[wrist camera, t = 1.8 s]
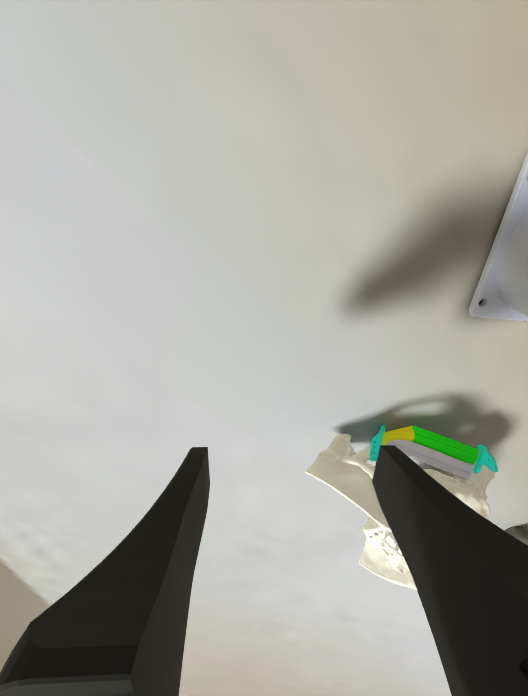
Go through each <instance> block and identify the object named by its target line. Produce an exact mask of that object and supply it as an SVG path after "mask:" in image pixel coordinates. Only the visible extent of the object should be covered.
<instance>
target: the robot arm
mask: <svg viewBox="0 0 528 696" xmlns="http://www.w3.org/2000/svg"><path fill="white" fill-rule="evenodd" d="M527 177H528V153H527V155H526V158H525V160H524V163H523V166H522V168H521V171H520V174H519V176H518V179H517V182H516V184H515V187H514V190H513V192H512V195H511V198H510V200H509V203H508V206H507V208H506V211H505V214H504V216H503V219H502V222H501V224H500V227H499V230H498V232H497V235H496V238H495V240H494V243H493V246H492V248H491V251H490V254H489V256H488V259H487V262H486V264H485V267H484V270H483V272H482V275H481V278H480V280H479V283H478V286H477V288H476V291H475V294H474V296H473V299H472V302H471V304H470V307H469V314H470V315H472V316H474V317H477V318H490V319H503V320H517V321H528V180H527ZM482 299H483V302H482V303H481V304H480V305H479V302H480V300H482ZM372 483H373V486H374V490H375V493H376V496H377V499H378V502H379V505H380V507H381V509H382V512H383V514H384V516H385V518H386V520H387V523H388V525H389V527H390V529H391V531H392V533H393V536H394V538H395V540H396V542H397V544H398V546H399V548H400V551H401V553H402V555H403V557H404V559H405V561H406V563H407V566H408V568H409V570H410V573H411V575H412V578H413V580H414V583H415V586H416V588H417V591H418V594H419V597H420V599H421V602H422V605H423V608H424V611H425V613H426V616H427V619H428V622H429V625H430V628H431V631H432V634H433V637H434V640H435V643H436V646H437V649H438V652H439V655H440V659H441V662H442V665H443V668H444V671H445V674H446V677H447V681H448V684H449V688H450V691H451V694H452V696H528V545H526V544H525V543H523V542H521V541H520V540H518V539H516V538H515V537H513V536H512V535H510V534H508V533H507V532H505V531H504V530H502V529H501V528H499V527H498V526H496V525H495V524H493V523H492V522H490V521H489V520H487V519H486V518H484V517H483V516H481V515H480V514H479V513H477V512H476V511H474V510H473V509H472V508H470V507H469V506H468V505H466V504H465V503H464V502H462V501H461V500H460V499H458V498H457V497H456V496H454V495H453V494H452V493H451V492H449V491H448V490H447V489H446V488H444V487H443V486H442V485H441V484H439V483H438V482H437V481H436V480H435V479H433V478H432V477H431V476H430V475H429V474H428V473H426V472H425V471H424V470H423V469H422V468H421V467H419V466H418V465H417V464H416V463H415V462H414V461H413V460H411V459H410V458H409V457H408V456H407V455H406V454H404V453H403V452H402V451H401V450H400V449H399V448H397V447H396V446H395V445H380V449H379V453H378V457H377V462H376V466H375V471H374V475H373V479H372ZM209 488H210V478H209V462H208V447H192V448H191V449H190V450H189V452H188V454H187V456H186V458H185V459H184V461H183V463H182V464H181V466H180V468H179V469H178V471H177V472H176V474H175V476H174V477H173V478H172V480H171V481H170V483H169V484H168V486H167V487H166V489H165V490H164V491H163V493H162V494H161V495H160V497H159V498H158V499H157V501H156V502H155V503H154V505H153V506H152V507H151V509H150V510H149V511H148V512H147V514H146V515H145V516H144V517H143V518H142V520H141V521H140V522H139V523H138V524H137V525H136V526H135V528H134V529H133V530H132V531H131V532H130V533H129V534H128V535H127V536H126V537H125V539H124V540H123V541H122V542H121V543H120V544H119V545H118V546H117V547H116V548H115V549H114V550H113V551H112V552H111V553H110V554H109V555H108V556H107V557H106V558H105V559H104V560H103V561H102V562H101V563H100V564H99V565H97V566H96V567H95V568H94V569H93V570H92V571H91V572H90V573H89V574H88V575H87V576H85V577H84V578H83V579H82V580H81V581H80V582H79V583H78V584H77V585H76V586H74V587H73V588H72V589H71V590H70V591H69V592H67V593H66V594H65V595H64V596H63V597H61V598H60V599H59V600H58V601H56V602H55V603H54V604H53V605H52V606H50V607H49V608H48V609H47V610H45V611H44V612H43V613H42V614H41V615H39V616H38V617H37V618H36V619H34V620H33V621H32V622H30V624H29V625H28V627H27V629H26V630H25V632H24V633H23V635H22V636H21V638H20V639H19V641H18V642H17V644H16V645H15V647H14V649H13V650H12V652H11V654H10V655H9V657H8V659H7V661H6V663H5V665H4V666H3V669H2V670H1V672H0V696H179V687H180V678H181V669H182V660H183V651H184V643H185V635H186V627H187V619H188V611H189V603H190V595H191V588H192V581H193V575H194V570H195V565H196V560H197V556H198V551H199V546H200V542H201V537H202V532H203V528H204V523H205V518H206V513H207V507H208V498H209Z"/></svg>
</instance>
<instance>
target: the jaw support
mask: <svg viewBox="0 0 528 696" xmlns="http://www.w3.org/2000/svg"><path fill="white" fill-rule="evenodd" d="M350 439H351V435H350V434H340V435H337V436H336V437H335V438H334V439H333V441H332V443H331V445H330V446H329V447H328V448H327V449H326V450H323V451H322V452H320V454H319V456H318V457H317V459H316V460H315V462H314V463H313V464H312V465H311V466H310V467H309V468H308V469H307V470H306V471H305V473H306V474H309V475H311V476H313V477H315V478H316V479H318V480H320V481H322V482H324V483H325V484H327V485H328V486H330V487H332V488H333V489H334V490H336V491H337V492H338V493H340V494H341V495H342V496H344V497H345V498H347V499H348V500H350V501H351V502H352V503H354V504H355V505H357V506H358V507H360V508H361V509H362V510H363V511H364V512H365V513H366V514H367V515H369V518H368V522H367V523H366V524H365V525H364V526H363V532H364V533H365V534H366V544H365V547H364V551H363V553H362V555H361V558H360V561H359V564H360V565H361V566H363V567H364V568H366V569H367V570H369V571H370V572H372V573H374V574H375V575H377V576H379V577H381V578H383V579H385V580H387V581H389V582H392V583H394V584H398V585H402V586H406V587H410V588H413V589H415V590H417V588H416V586H415V583H414V580H413V578H412V575H411V573H410V570H409V568H408V566H407V563H406V561H405V559H404V557H403V555H402V553H401V551H400V548H399V546H398V544H397V542H396V540H395V538H394V536H393V533H392V531H391V529H390V527H389V525H388V523H387V520H386V518H385V516H384V514H383V512H382V509H381V507H380V505H379V502H378V499H377V496H376V493H375V490H374V486H373V483H372V478H373V475H374V471H375V466H372V465H369V464H367V463H366V461H368V460H371V461H377V457H378V453H379V449H380V445H395V446H396V447H397V448H399V449H400V450H401V451H402V452H403V453H404V454H406V455H408V456H411V457H413V458H416V459H418V460H420V461H422V462H424V463H426V464H428V465H430V466H432V467H435V468H438V469H441V470H444V471H446V472H449V473H451V474H453V475H456V476H458V477H460V478H462V479H460V480H457V479H455V478H453V477H451V476H447V475H444V474H442V473H440V472H437V471H435V470H433V469H423V470H424V471H425V472H426V473H428V474H429V475H430V476H431V477H432V478H433V479H435V480H436V481H437V482H438V483H439V484H441V485H442V486H443V487H444V488H446V489H447V490H448V491H449V492H451V493H452V494H453V495H454V496H456V497H457V498H458V499H460V500H461V501H462V502H464V503H465V504H466V505H468V506H469V507H470V508H472V509H473V510H474V511H476V512H477V513H479V514H480V515H481V516H483V517H484V518H486V519H487V518H488V514H489V513H490V507H489V504H488V503H487V502H486V500H487V496H486V493H485V491H486V488H487V485H488V483H489V482H490V481H491V480H492V479H493V478H494V475H495V472H498V468H497V465H496V462H495V460H494V458H493V456H492V455H491V454H490V453H489V452H487V447H486V446H484V445H482V444H481V445H478V446H477V447H476V448H474V447H471V446H468V445H466V444H463V443H460V442H458V441H455V440H452V439H450V438H447V437H445V436H442V435H439V434H436V433H433V432H430V431H428V430H425V429H422V428H419V427H416V426H413V425H412V426H408V427H404V428H400V429H395V430H391V431H387V432H385V424H384V425H382V426H381V427H380V431H379V432H378V433H377V434H376V435H375V437H374V438H373V439H372V441H371V444H370V445H369V446H368V447H367V448H365V449H364V450H362V451H360V452H358V453H355V452H354V449H353V447H352V446H351V443H350ZM450 456H451V457H450ZM453 457H454V458H453ZM455 458H456V459H455ZM458 459H459V460H458ZM460 460H462V461H460ZM463 461H464V462H463ZM465 462H467V463H465ZM369 475H370V476H371V477H372V478H371V477H370V476H369Z"/></svg>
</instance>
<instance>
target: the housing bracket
mask: <svg viewBox="0 0 528 696" xmlns="http://www.w3.org/2000/svg"><path fill="white" fill-rule="evenodd" d="M505 532H507V533H508V534H510V535H512V536H513V537H515V538H516V539H518V540H520V541H521V542H523V543H525V544H526V545H528V532H527V531H526V530H525V529H524V528H523V527H512V528H509V529H507V530H505Z"/></svg>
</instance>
